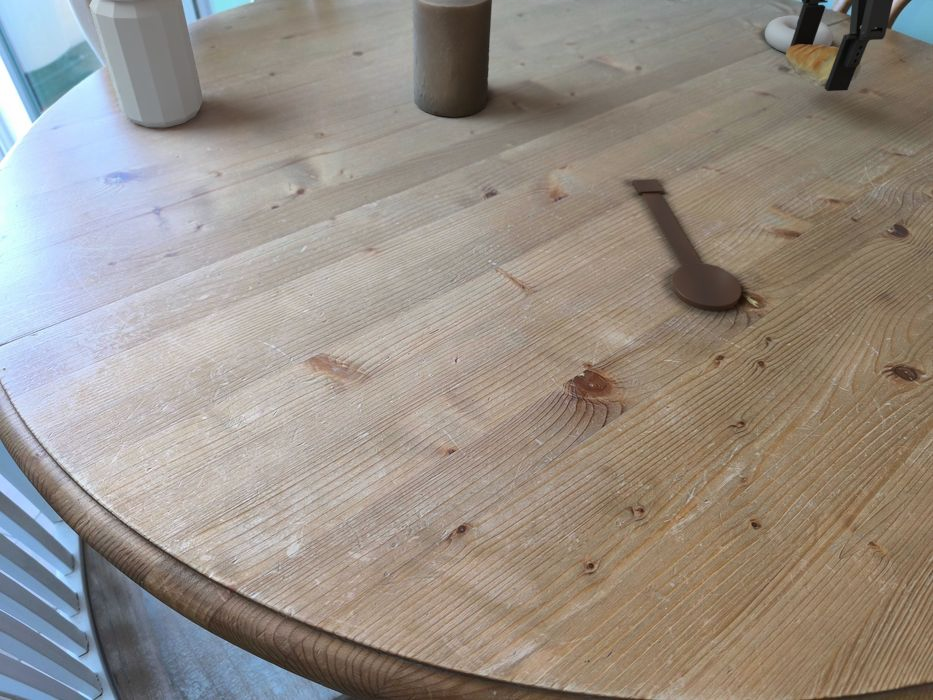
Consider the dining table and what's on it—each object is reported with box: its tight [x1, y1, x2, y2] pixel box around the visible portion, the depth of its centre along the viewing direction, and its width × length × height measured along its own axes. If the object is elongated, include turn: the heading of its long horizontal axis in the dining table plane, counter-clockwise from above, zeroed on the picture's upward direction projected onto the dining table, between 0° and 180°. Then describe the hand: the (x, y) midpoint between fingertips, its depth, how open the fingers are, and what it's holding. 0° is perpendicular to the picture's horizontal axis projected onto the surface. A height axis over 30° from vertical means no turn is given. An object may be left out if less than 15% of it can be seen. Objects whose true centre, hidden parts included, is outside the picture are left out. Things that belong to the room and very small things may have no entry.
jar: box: [88, 0, 204, 129], centre depth 87 cm, size 10×10×18 cm
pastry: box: [785, 44, 861, 89], centre depth 96 cm, size 9×7×4 cm
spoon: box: [631, 178, 742, 312], centre depth 76 cm, size 6×22×2 cm, turn 8°
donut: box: [764, 15, 834, 54], centre depth 115 cm, size 10×4×10 cm
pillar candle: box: [412, 0, 493, 118], centre depth 93 cm, size 10×10×15 cm
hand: (816, 72), depth 97 cm, fingers closed on pastry, 10 cm apart
